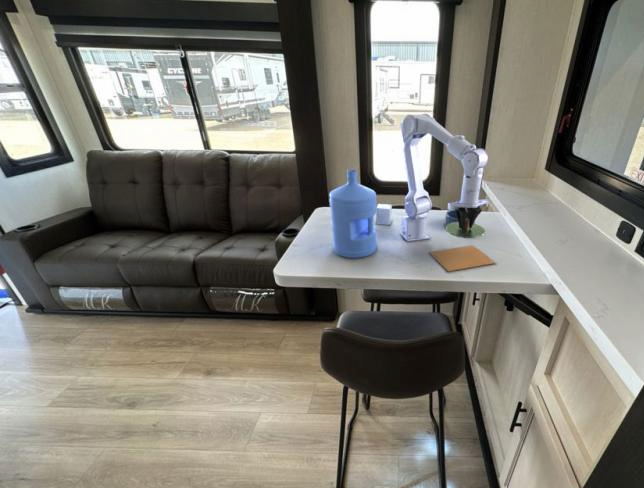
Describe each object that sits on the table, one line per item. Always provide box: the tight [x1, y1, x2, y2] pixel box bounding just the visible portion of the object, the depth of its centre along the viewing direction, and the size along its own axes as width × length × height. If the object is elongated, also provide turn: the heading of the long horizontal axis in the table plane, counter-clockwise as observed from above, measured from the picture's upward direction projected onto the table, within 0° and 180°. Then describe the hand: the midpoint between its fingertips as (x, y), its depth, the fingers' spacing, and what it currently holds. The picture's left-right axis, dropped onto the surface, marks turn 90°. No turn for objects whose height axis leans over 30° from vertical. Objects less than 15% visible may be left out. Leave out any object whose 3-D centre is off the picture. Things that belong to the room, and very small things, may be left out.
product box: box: [375, 203, 393, 226], centre depth 133 cm, size 6×6×7 cm
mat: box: [429, 245, 495, 273], centre depth 108 cm, size 18×14×1 cm
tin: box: [444, 209, 476, 228], centre depth 132 cm, size 12×12×6 cm
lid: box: [445, 218, 486, 239], centre depth 105 cm, size 13×13×5 cm
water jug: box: [329, 169, 378, 259], centre depth 105 cm, size 16×16×28 cm
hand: (465, 227), depth 106 cm, fingers closed on lid, 2 cm apart
